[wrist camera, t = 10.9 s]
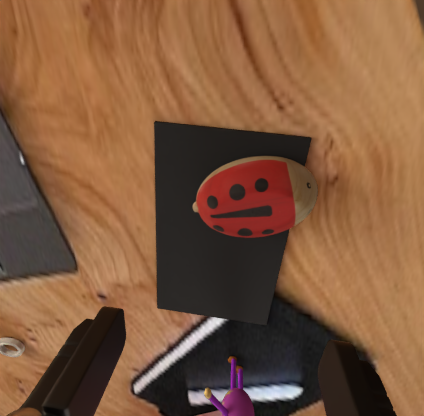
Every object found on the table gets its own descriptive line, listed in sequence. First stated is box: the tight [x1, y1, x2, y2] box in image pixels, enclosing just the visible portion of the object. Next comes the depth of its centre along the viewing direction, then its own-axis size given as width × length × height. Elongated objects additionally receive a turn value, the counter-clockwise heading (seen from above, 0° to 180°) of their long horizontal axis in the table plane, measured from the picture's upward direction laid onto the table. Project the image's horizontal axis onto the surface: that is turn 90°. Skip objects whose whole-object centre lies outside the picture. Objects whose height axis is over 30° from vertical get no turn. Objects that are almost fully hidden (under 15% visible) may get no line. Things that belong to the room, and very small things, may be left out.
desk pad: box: [154, 121, 311, 325], centre depth 25 cm, size 20×12×1 cm, turn 175°
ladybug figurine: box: [193, 156, 318, 238], centre depth 21 cm, size 7×10×4 cm
